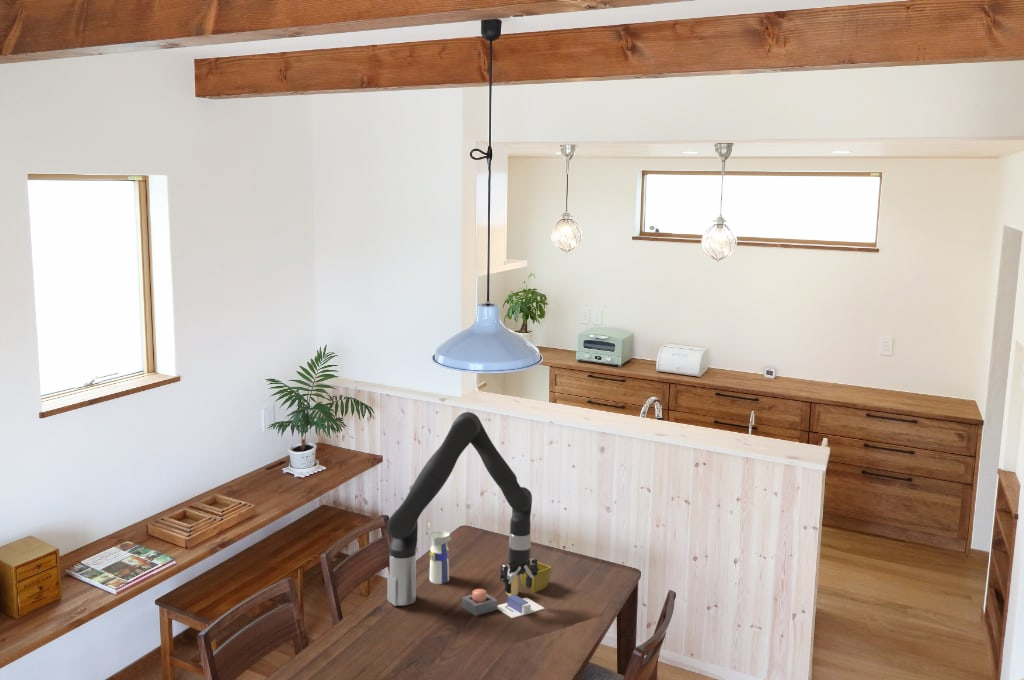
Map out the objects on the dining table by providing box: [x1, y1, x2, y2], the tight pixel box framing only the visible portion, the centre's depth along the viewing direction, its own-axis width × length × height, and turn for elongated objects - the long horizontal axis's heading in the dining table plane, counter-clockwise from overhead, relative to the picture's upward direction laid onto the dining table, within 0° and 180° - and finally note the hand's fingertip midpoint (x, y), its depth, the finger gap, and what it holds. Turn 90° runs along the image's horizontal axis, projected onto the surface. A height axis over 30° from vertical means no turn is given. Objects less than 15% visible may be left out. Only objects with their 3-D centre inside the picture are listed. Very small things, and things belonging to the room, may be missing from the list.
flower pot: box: [519, 561, 552, 593], centre depth 313 cm, size 9×9×9 cm
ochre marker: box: [505, 568, 519, 596], centre depth 308 cm, size 3×3×10 cm
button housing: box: [461, 593, 498, 617], centre depth 296 cm, size 9×9×4 cm
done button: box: [471, 588, 488, 603], centre depth 296 cm, size 5×5×4 cm
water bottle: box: [427, 519, 452, 585], centre depth 316 cm, size 8×9×25 cm
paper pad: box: [497, 597, 546, 619], centre depth 297 cm, size 14×11×1 cm
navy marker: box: [506, 594, 531, 615], centre depth 296 cm, size 3×3×10 cm
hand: (518, 590), depth 295 cm, fingers open, 8 cm apart
